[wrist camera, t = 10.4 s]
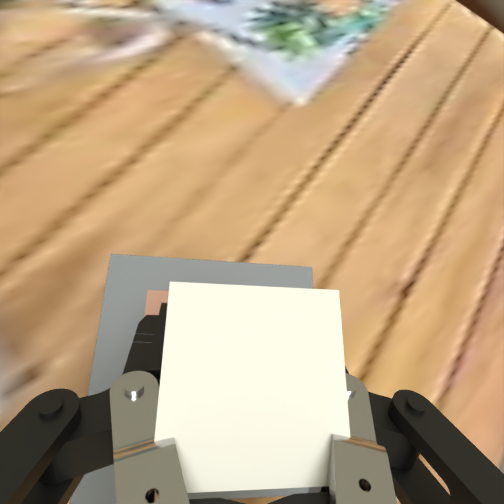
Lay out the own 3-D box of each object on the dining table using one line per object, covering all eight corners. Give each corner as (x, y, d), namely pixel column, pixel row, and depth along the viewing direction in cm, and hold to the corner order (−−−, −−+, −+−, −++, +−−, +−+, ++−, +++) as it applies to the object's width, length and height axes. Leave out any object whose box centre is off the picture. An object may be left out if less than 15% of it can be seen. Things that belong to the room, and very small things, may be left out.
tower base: (75, 499, 20) (25, 559, 14) (114, 258, 26) (89, 225, 19) (316, 487, 23) (363, 533, 17) (307, 271, 28) (340, 245, 22)
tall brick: (173, 420, 15) (148, 494, 7) (181, 324, 17) (169, 281, 8) (266, 419, 16) (354, 484, 7) (265, 327, 18) (338, 290, 9)
